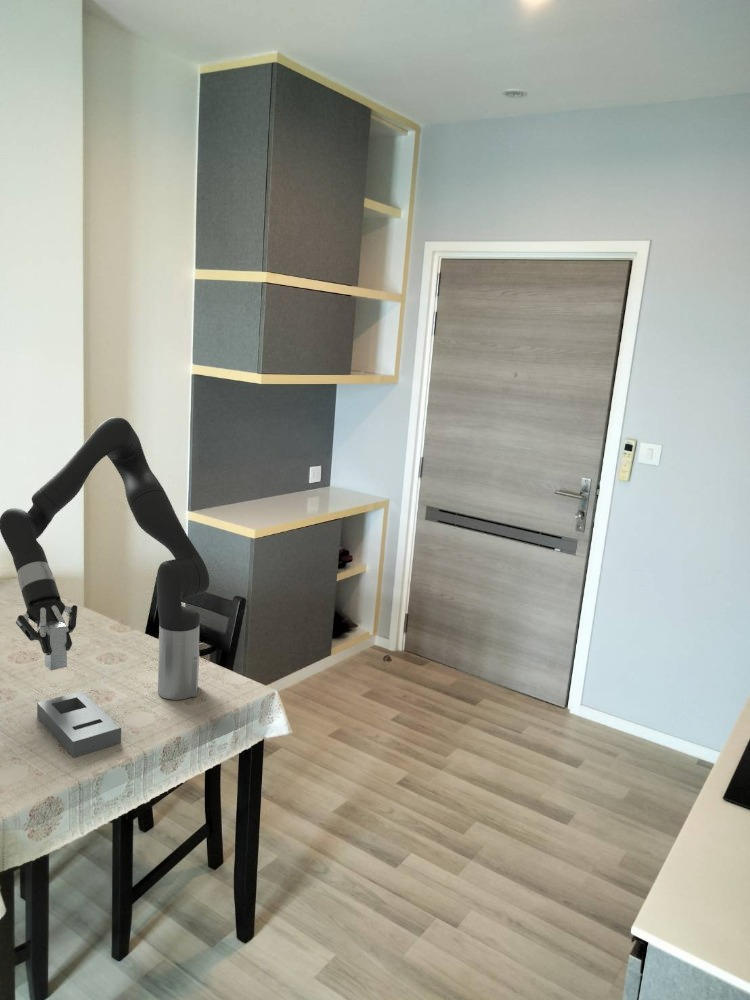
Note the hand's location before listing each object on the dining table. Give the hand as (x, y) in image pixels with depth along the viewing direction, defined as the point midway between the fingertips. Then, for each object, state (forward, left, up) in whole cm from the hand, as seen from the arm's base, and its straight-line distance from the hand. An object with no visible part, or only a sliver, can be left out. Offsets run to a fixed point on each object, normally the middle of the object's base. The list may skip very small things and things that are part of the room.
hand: (58, 651), depth 171 cm
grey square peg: (+1, -2, -4) cm, 5 cm away
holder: (-7, +13, -12) cm, 19 cm away
